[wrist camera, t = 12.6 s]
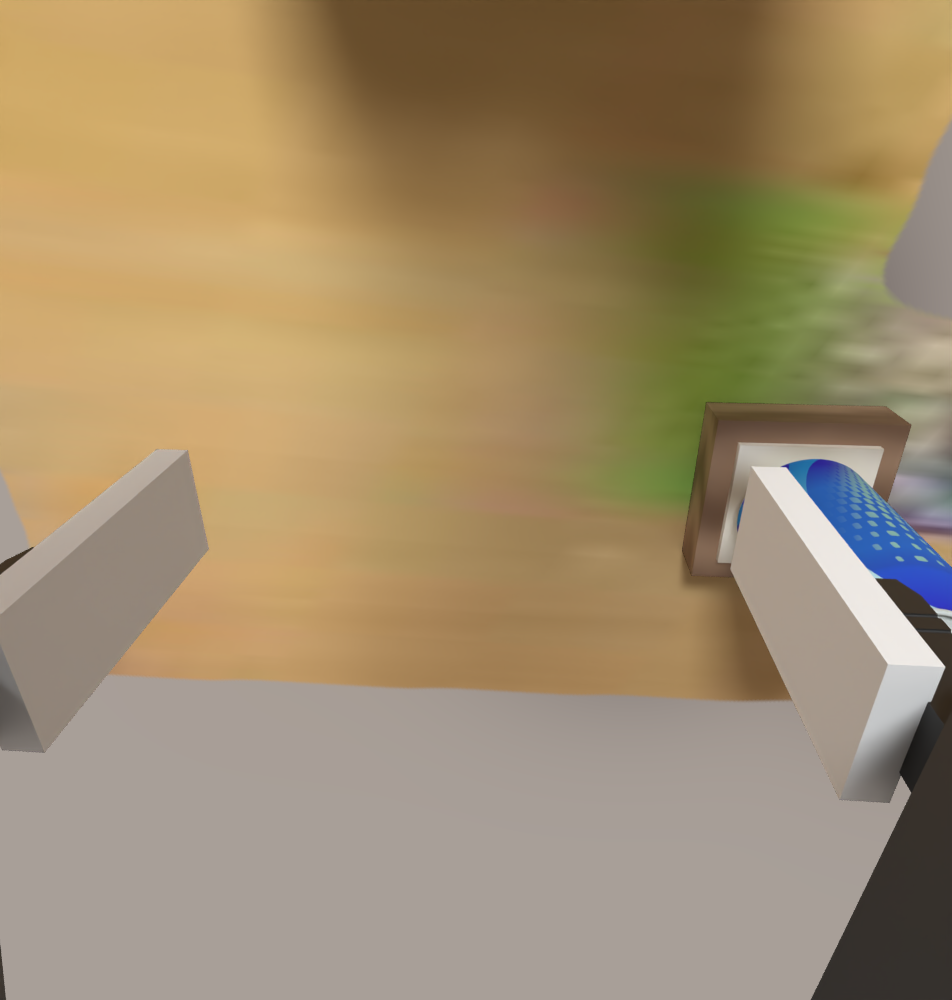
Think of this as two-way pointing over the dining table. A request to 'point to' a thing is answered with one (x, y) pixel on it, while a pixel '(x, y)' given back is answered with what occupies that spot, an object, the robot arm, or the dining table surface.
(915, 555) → the beer can
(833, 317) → the dining table surface
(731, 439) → the base slab
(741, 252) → the dining table surface
